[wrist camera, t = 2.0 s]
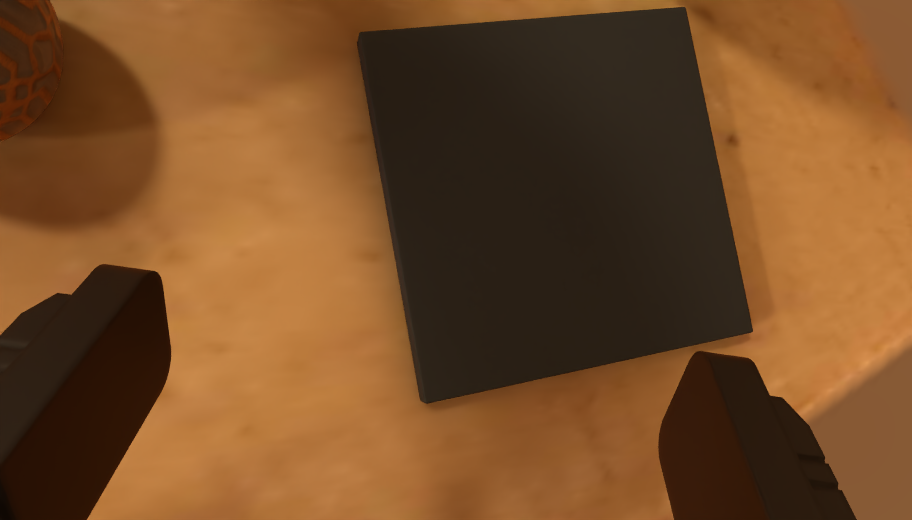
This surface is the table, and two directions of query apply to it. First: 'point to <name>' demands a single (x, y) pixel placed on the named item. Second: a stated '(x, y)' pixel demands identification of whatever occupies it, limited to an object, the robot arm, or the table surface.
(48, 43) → the vase
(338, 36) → the table surface
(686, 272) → the coaster
